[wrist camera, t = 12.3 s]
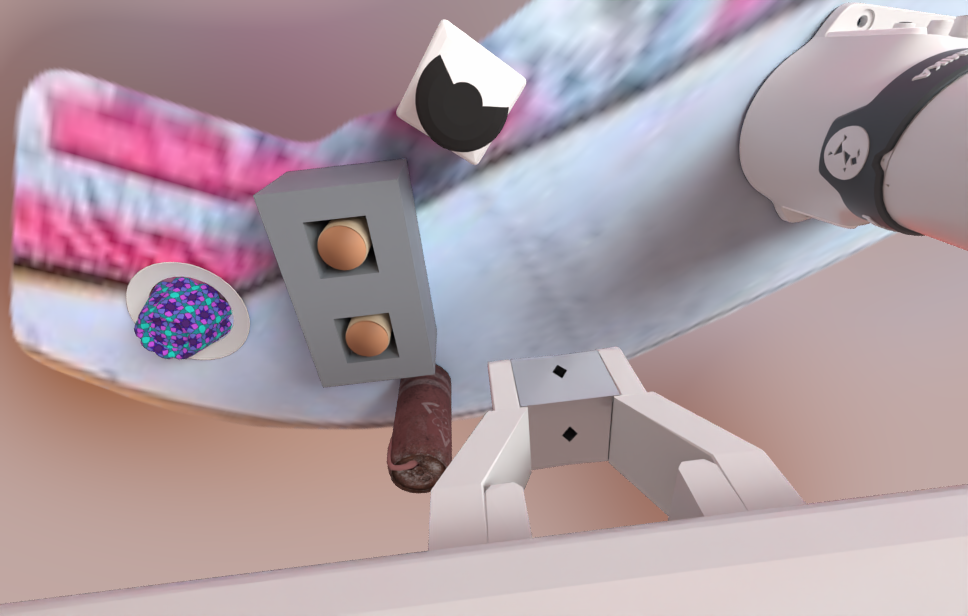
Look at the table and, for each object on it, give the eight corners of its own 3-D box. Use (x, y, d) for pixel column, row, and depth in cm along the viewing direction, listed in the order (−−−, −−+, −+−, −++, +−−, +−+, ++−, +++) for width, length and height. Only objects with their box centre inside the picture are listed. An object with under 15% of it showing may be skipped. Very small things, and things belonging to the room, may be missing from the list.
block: (406, 158, 40) (397, 179, 33) (436, 330, 49) (434, 374, 43) (287, 171, 40) (253, 195, 33) (340, 341, 49) (323, 387, 42)
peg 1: (374, 196, 41) (360, 222, 34) (383, 236, 43) (371, 268, 36) (332, 201, 41) (310, 228, 34) (343, 241, 43) (324, 273, 36)
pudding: (124, 247, 43) (85, 269, 38) (253, 273, 45) (231, 297, 40) (136, 345, 48) (104, 375, 44) (251, 364, 50) (232, 394, 46)
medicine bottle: (472, 151, 40) (480, 183, 30) (402, 106, 38) (385, 123, 27) (515, 77, 37) (541, 84, 27) (443, 23, 35) (441, 9, 25)
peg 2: (393, 281, 45) (384, 318, 39) (400, 314, 47) (393, 354, 41) (355, 286, 45) (339, 324, 39) (364, 318, 47) (350, 359, 41)
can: (403, 355, 51) (389, 448, 39) (456, 365, 52) (458, 458, 40) (394, 394, 54) (378, 492, 42) (444, 402, 55) (443, 499, 43)
